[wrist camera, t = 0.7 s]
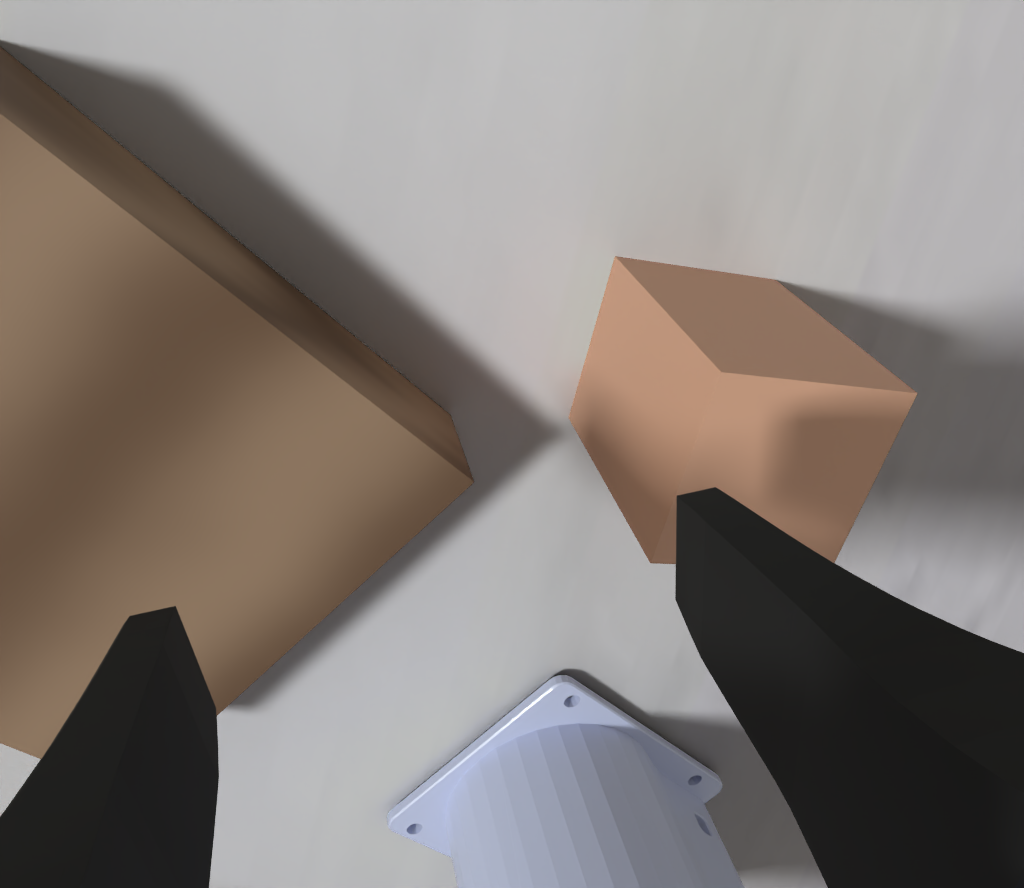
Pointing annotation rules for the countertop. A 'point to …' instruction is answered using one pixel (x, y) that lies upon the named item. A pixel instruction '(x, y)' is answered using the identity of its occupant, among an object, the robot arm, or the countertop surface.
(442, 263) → the countertop surface
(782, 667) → the robot arm
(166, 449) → the walnut block
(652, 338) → the terracotta block
